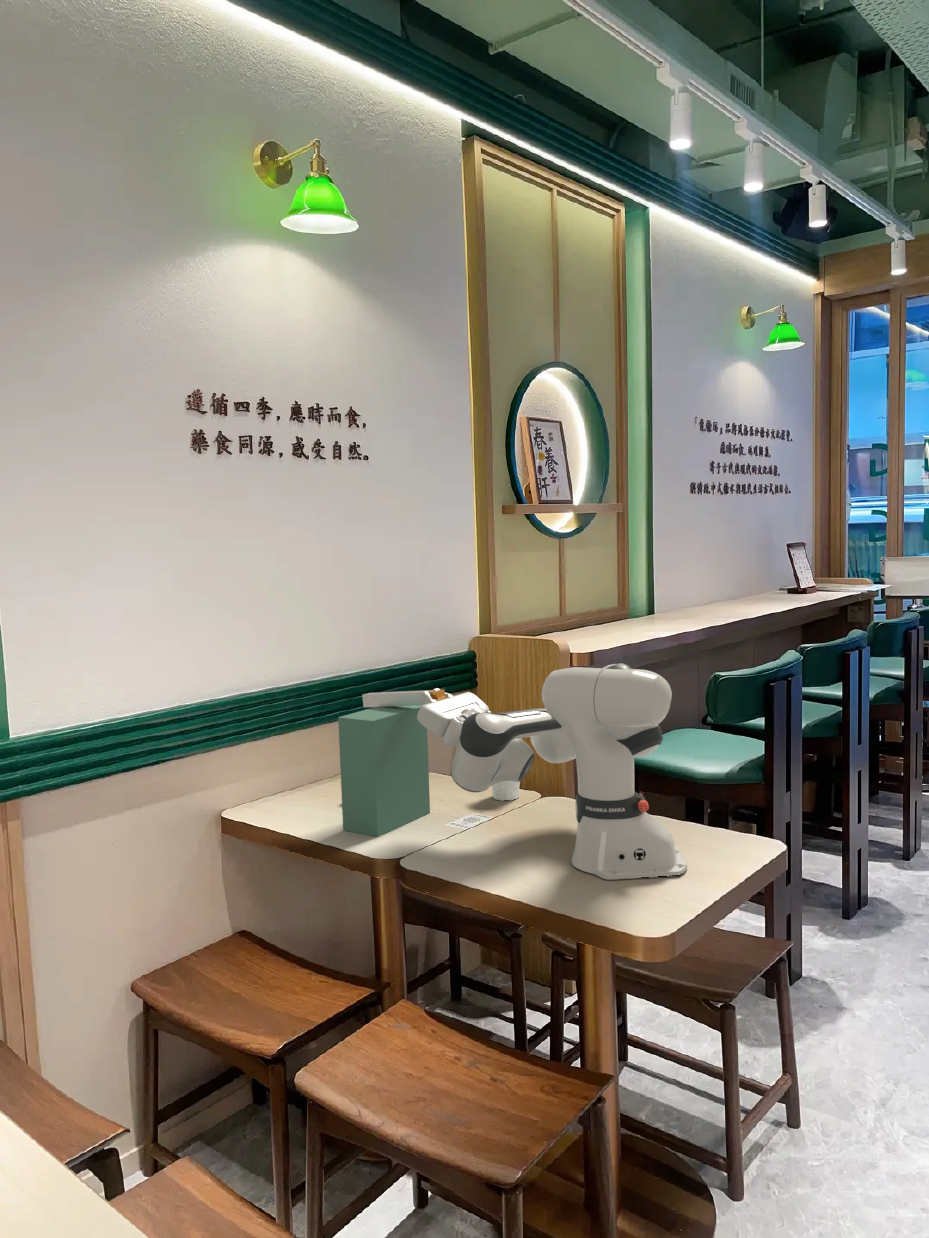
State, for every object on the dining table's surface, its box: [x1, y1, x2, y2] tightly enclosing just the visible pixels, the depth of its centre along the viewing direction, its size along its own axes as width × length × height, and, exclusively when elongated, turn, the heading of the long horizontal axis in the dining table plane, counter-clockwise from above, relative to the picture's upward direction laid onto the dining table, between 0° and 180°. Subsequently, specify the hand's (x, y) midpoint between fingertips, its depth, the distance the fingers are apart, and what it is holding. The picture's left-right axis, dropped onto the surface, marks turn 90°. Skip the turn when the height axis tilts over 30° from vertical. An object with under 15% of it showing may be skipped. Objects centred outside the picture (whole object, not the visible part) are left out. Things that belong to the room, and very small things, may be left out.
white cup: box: [490, 781, 521, 802], centre depth 233 cm, size 8×8×10 cm
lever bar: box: [361, 689, 445, 708], centre depth 217 cm, size 22×3×3 cm, turn 57°
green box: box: [337, 705, 431, 838], centre depth 215 cm, size 10×20×26 cm, turn 147°
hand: (428, 692), depth 213 cm, fingers closed on lever bar, 3 cm apart
